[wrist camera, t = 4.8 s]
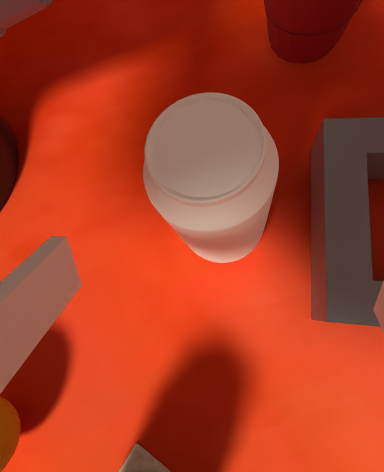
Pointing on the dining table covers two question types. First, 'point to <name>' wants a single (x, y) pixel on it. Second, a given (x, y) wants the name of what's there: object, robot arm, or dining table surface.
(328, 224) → the square frame
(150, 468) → the condiment
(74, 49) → the dining table surface
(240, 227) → the beverage can
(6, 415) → the lemon
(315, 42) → the plastic cup
